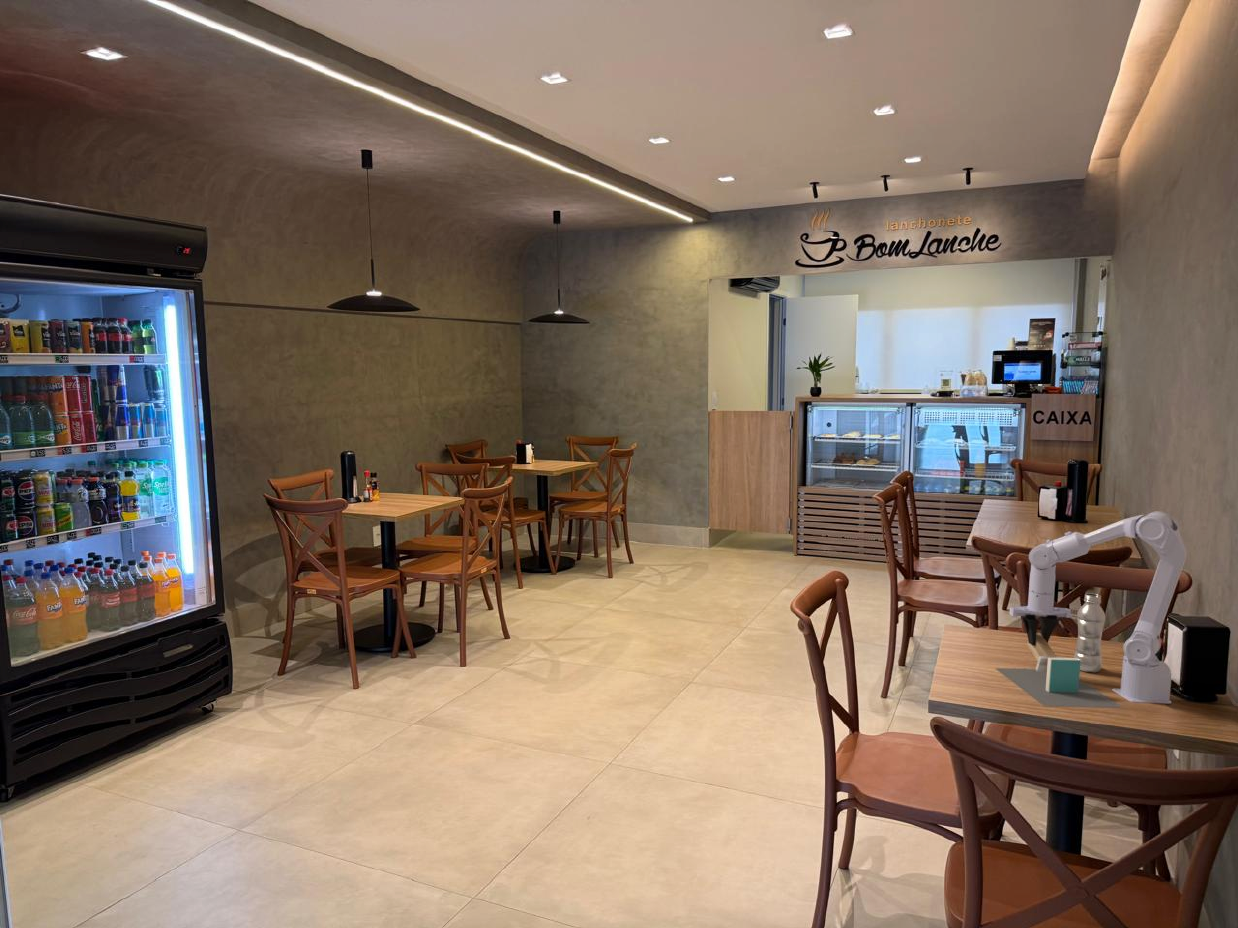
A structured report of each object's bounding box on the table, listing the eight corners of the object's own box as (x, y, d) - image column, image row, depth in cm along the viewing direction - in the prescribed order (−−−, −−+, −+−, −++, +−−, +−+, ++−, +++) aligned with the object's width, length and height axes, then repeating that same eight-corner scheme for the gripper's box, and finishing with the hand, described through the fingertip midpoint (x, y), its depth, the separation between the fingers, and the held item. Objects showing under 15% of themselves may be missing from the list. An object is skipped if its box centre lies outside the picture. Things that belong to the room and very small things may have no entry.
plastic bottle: (1075, 673, 212) (1081, 596, 210) (1070, 665, 218) (1076, 590, 216) (1104, 676, 210) (1110, 599, 208) (1098, 668, 216) (1104, 593, 214)
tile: (1074, 690, 199) (1077, 658, 198) (1078, 692, 197) (1081, 660, 196) (1045, 689, 199) (1047, 657, 198) (1049, 692, 197) (1051, 659, 196)
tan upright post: (1043, 645, 213) (1047, 632, 211) (1061, 671, 204) (1065, 658, 202) (1019, 644, 213) (1023, 632, 211) (1037, 671, 204) (1041, 658, 202)
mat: (1064, 671, 214) (1064, 669, 214) (1123, 709, 189) (1123, 707, 189) (994, 669, 214) (994, 668, 214) (1044, 707, 189) (1044, 705, 189)
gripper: (1062, 588, 212) (1058, 639, 214) (1005, 587, 212) (1001, 638, 214) (1077, 595, 205) (1073, 648, 207) (1018, 594, 205) (1014, 647, 207)
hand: (1037, 644), depth 210 cm, fingers closed on tan upright post, 2 cm apart
